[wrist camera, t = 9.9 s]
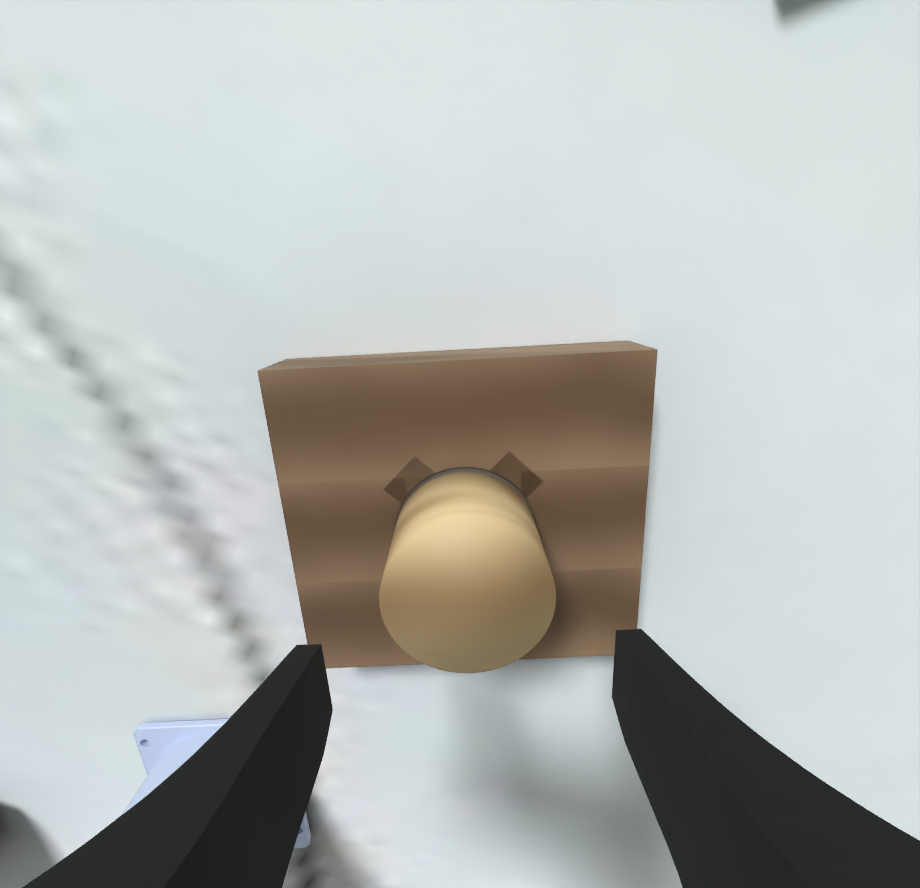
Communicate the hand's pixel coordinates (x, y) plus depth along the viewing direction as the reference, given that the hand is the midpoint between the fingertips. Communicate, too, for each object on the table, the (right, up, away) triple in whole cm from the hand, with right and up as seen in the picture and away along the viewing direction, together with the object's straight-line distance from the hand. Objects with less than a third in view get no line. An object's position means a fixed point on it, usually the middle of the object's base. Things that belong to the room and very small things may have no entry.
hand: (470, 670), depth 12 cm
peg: (0, +3, +10) cm, 10 cm away
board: (0, +3, +10) cm, 10 cm away
